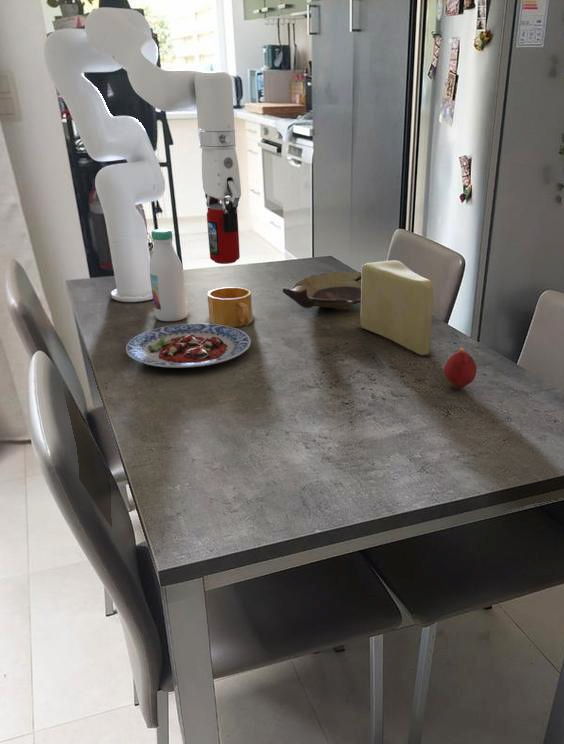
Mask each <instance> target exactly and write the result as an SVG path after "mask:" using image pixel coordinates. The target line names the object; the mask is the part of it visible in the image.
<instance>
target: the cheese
mask: <svg viewBox="0 0 564 744" xmlns="http://www.w3.org/2000/svg"><path fill="white" fill-rule="evenodd" d="M361 272H362V277H361V282H360V283H361V302H360V327H361V329H363V330H366V331H369V332H371V333H374V334H376V335H377V336H381V337H383V338H386V339H388V340H390V341H392V342H394V343H395V344H397V345H399V346H401V347H403V348H405V349H407V350H409V351H410V352H411V351H412V352H413V353H416V354H417V355H419V356H428V355H429V354H430V347H431V346H430V344H431V331H432V322H433V321H432V319H433V306H434V305H433V303H434V283H433V282H432V281H431V280H430V279H428V278H426V277H423V276H421V275H420V274H418V273H417V272H416V273H415V272H414V271H413V270H412V269H410V268H409V267H408V266H406V265H405V264H404V263H402V262H401V261H400V260H396V259H395V260H384V261H375V262H374V261H373V262H367V263H365V264H363V265H362V266H361Z"/></svg>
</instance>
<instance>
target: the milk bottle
mask: <svg viewBox="0 0 564 744" xmlns="http://www.w3.org/2000/svg"><path fill="white" fill-rule="evenodd" d="M151 241H152V243H153V250H152V254H151V256H150V279H151V287H152V295H153V299H152V301H153V308H154V316H155V318H156V319H157V320H159V321H161V322H176V321H177V322H178V321H181V320H184V319H186V318H187V317H188V314H189V312H188V310H189V309H188V302H187V293H186V284H185V277H184V270H183V265H182V262H181V259H180V257H179V255H178V254H177V252H176V250H175V247H174V244H173V241H174V239H173V231H172V230H171V229H168V228H158V229H154V230H152V231H151Z"/></svg>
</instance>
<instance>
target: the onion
mask: <svg viewBox="0 0 564 744" xmlns="http://www.w3.org/2000/svg"><path fill="white" fill-rule="evenodd" d="M477 368H478V367H477V364H476V361H475V360H474V358H473V357H472V356H471V355H470V354H469V353H467V351H466V350H465V349H464V348H463V347H459V348H458V351H457V352H455V353H454V354H452V355H451V356H450V357H449V358H448V360H446V363H445V366H444V376H445V378H446V380H447V381H448V382H449V383H450V384H451V385H452V386H453V387H454V388H455V389H456V390H460V389H462V388H464V387H466V386H468V385H470V384H472V382H473V381H474V379H475V377H476V375H477V372H478V371H477Z"/></svg>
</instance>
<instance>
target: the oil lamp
mask: <svg viewBox="0 0 564 744" xmlns="http://www.w3.org/2000/svg"><path fill="white" fill-rule="evenodd" d="M361 277H362V271H332V272H322V273H317V274H312V275H310V276H308V277H307V276H306V277H304V278H302V279H300V280H299V281H297V282H296V283H295V284H294V285H293V286H292V288H288V287H283V288H282V290H281V291H282V293H283V294H284V295H286V296H287V297H289V298H290V299H292V301H294V302H295V303H296V304H297V305H299V306H300V307H301V308H303V309H310V308H313V307H317V308H318V307H319V308H326V309H327V308H328V309H330V308H331V309H335V308H345V307H350V306H352V305H357V304H361V282H359V281H360V280H361Z"/></svg>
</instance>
